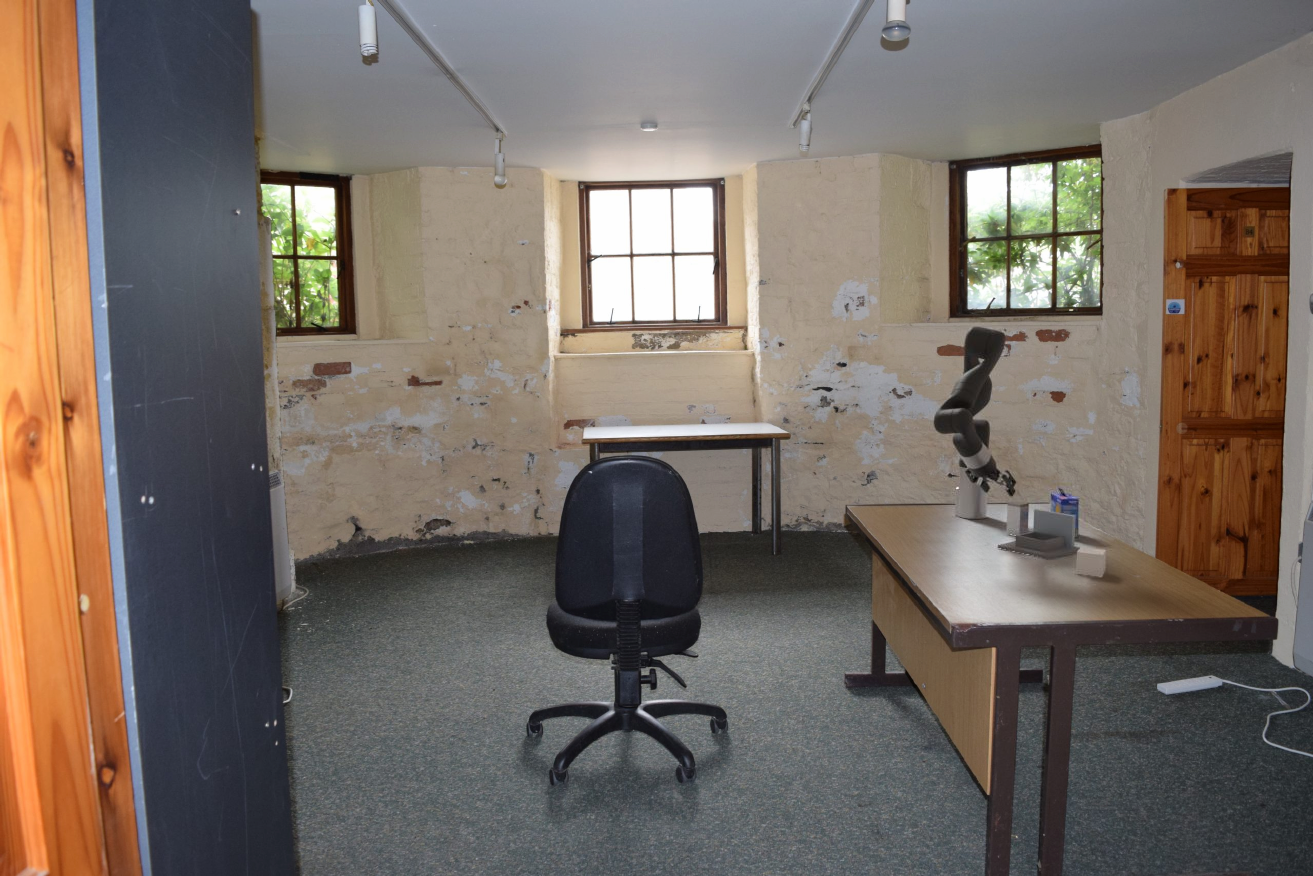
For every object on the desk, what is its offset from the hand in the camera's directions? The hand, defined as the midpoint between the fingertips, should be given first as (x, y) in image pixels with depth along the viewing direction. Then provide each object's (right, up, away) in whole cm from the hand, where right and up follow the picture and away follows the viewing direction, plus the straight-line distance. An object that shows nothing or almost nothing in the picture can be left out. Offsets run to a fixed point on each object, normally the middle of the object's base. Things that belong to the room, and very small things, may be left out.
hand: (1000, 492), depth 262 cm
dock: (+6, -16, -12) cm, 21 cm away
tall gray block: (+8, -14, +7) cm, 17 cm away
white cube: (+9, -19, -37) cm, 42 cm away
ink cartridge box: (+22, -14, +7) cm, 27 cm away
